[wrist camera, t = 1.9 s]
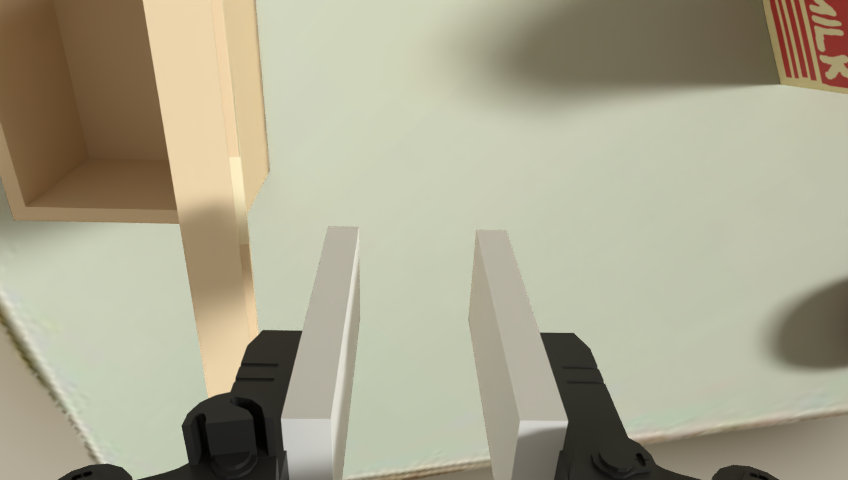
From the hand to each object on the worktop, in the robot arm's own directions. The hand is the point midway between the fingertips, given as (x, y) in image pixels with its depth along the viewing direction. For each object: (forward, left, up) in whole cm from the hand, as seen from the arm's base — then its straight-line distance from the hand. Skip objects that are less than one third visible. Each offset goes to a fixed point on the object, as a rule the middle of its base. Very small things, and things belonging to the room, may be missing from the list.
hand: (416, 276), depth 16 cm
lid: (0, -9, -9) cm, 13 cm away
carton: (0, -15, -25) cm, 29 cm away
